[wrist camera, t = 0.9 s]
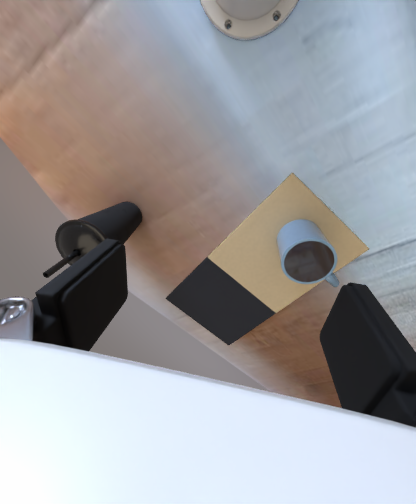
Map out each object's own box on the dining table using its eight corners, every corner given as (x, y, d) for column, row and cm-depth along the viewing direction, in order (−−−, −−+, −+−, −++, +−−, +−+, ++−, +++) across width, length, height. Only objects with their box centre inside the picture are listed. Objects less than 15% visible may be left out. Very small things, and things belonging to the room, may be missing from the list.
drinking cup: (156, 229, 44) (92, 299, 26) (120, 237, 46) (38, 307, 28) (139, 188, 40) (54, 236, 23) (102, 199, 42) (-3, 250, 25)
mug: (267, 240, 41) (269, 262, 34) (301, 209, 38) (312, 227, 31) (308, 277, 43) (319, 305, 36) (345, 251, 40) (364, 276, 33)
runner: (292, 172, 36) (292, 172, 35) (368, 248, 39) (369, 248, 39) (165, 298, 51) (165, 298, 50) (228, 344, 54) (228, 345, 54)
